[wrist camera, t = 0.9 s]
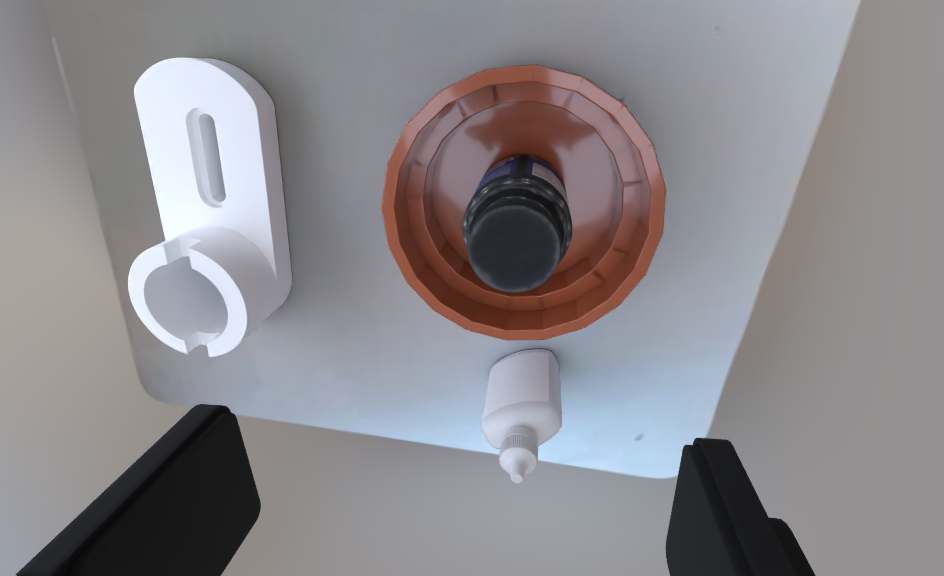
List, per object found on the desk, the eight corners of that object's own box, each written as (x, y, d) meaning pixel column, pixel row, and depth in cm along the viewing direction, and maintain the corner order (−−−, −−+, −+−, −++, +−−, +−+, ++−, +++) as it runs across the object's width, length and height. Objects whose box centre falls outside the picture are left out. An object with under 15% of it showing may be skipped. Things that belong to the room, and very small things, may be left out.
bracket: (296, 320, 41) (254, 364, 35) (201, 308, 42) (144, 349, 36) (269, 62, 33) (208, 62, 27) (151, 54, 34) (65, 51, 28)
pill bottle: (480, 238, 36) (454, 305, 26) (476, 153, 33) (446, 190, 23) (565, 238, 35) (573, 307, 25) (568, 150, 32) (578, 188, 22)
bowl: (371, 228, 37) (340, 256, 31) (482, 11, 30) (468, -1, 24) (553, 337, 39) (554, 381, 33) (699, 156, 32) (730, 175, 26)
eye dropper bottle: (493, 340, 39) (474, 443, 29) (563, 350, 39) (569, 459, 28) (488, 383, 41) (468, 496, 30) (554, 394, 41) (557, 512, 30)
